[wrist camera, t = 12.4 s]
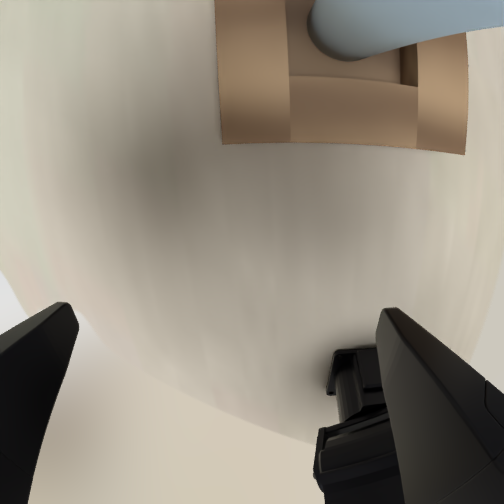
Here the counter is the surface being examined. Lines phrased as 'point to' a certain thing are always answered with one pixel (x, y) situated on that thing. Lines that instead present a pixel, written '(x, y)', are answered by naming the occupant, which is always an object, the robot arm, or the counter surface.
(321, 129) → the holder
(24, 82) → the counter surface
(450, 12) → the peg
